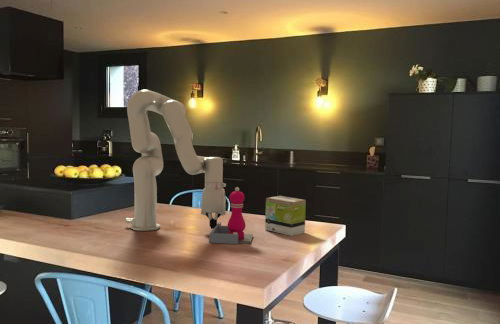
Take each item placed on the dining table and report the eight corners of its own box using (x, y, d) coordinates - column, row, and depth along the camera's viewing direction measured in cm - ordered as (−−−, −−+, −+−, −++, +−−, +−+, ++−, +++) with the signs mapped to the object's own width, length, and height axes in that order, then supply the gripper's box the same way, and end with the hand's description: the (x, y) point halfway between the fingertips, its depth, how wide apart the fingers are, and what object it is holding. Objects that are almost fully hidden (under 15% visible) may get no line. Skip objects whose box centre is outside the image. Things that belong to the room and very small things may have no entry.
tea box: (264, 230, 197) (264, 197, 196) (278, 227, 204) (279, 195, 203) (291, 236, 187) (292, 201, 186) (305, 232, 194) (306, 199, 193)
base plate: (219, 242, 174) (219, 232, 173) (224, 235, 186) (224, 225, 185) (250, 243, 173) (250, 233, 172) (252, 236, 185) (253, 227, 184)
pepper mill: (243, 239, 175) (244, 188, 174) (225, 238, 176) (226, 187, 175) (246, 235, 182) (247, 186, 181) (229, 234, 183) (230, 185, 182)
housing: (209, 242, 172) (209, 233, 172) (218, 229, 195) (218, 222, 195) (237, 243, 171) (237, 234, 171) (243, 230, 194) (244, 222, 194)
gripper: (232, 185, 194) (231, 227, 196) (198, 184, 196) (197, 226, 197) (229, 187, 187) (229, 230, 188) (194, 186, 188) (194, 229, 189)
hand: (213, 228), depth 192 cm, fingers closed
